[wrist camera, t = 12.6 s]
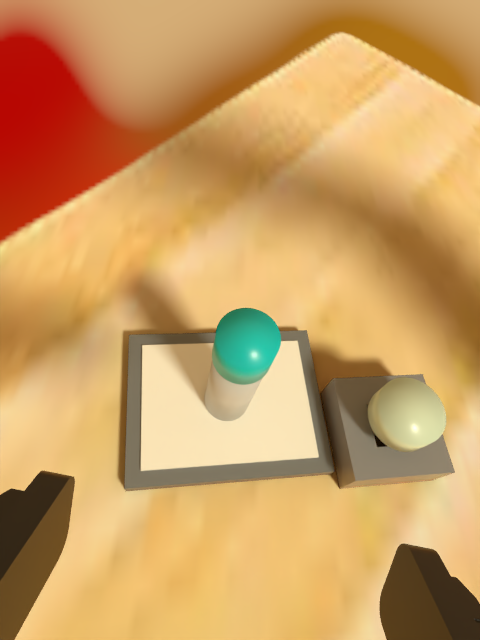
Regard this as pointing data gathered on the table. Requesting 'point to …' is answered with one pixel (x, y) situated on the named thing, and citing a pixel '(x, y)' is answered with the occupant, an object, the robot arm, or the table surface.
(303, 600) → the table surface
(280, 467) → the drawing slate
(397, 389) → the button
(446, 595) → the robot arm
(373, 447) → the button housing
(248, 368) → the marker
